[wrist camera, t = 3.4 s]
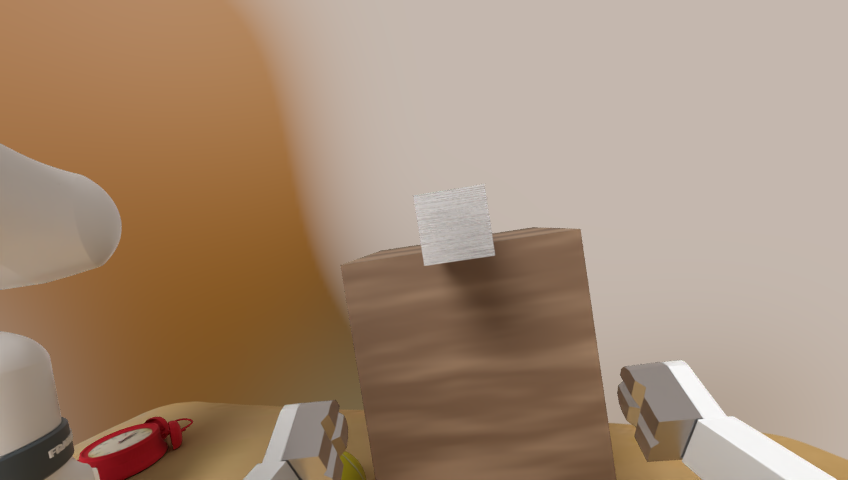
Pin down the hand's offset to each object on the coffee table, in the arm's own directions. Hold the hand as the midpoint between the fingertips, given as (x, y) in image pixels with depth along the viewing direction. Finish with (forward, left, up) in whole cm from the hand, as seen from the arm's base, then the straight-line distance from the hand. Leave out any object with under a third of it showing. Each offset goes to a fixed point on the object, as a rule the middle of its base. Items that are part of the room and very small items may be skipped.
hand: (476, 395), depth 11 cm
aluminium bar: (-10, +12, +3) cm, 16 cm away
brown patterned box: (-13, +16, -23) cm, 31 cm away
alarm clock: (-66, -3, -23) cm, 70 cm away
